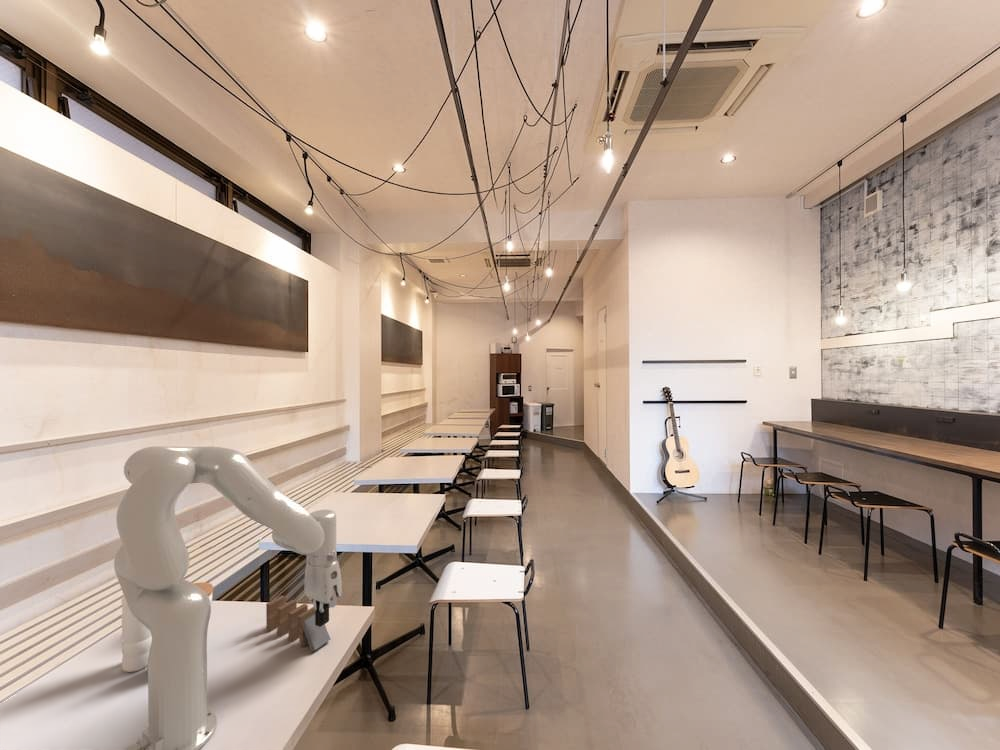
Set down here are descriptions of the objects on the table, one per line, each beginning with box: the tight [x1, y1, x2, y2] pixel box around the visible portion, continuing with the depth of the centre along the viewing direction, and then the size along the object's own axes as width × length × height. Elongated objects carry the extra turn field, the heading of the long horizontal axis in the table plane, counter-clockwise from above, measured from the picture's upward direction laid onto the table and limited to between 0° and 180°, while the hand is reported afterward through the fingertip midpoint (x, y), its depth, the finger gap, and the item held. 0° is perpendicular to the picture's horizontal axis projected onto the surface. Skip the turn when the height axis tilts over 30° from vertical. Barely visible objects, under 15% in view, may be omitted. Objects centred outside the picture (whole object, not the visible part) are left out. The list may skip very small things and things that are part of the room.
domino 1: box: [265, 594, 287, 633], centre depth 121 cm, size 2×5×8 cm, turn 152°
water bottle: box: [121, 595, 152, 673], centre depth 106 cm, size 7×7×25 cm
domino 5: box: [301, 615, 331, 653], centre depth 113 cm, size 2×5×8 cm
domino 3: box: [287, 603, 309, 643], centre depth 116 cm, size 2×5×8 cm, turn 152°
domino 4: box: [297, 606, 315, 648], centre depth 114 cm, size 2×5×8 cm, turn 152°
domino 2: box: [276, 599, 298, 638], centre depth 119 cm, size 2×5×8 cm, turn 152°
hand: (322, 623), depth 112 cm, fingers closed
